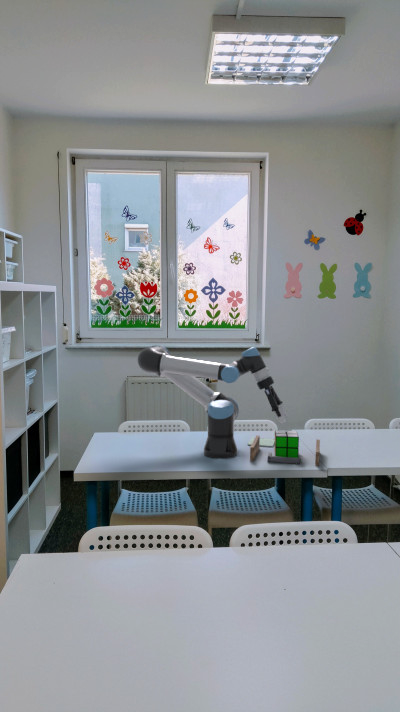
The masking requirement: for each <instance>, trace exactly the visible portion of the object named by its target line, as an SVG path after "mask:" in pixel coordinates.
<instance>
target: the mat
mask: <svg viewBox="0 0 400 712" xmlns="http://www.w3.org/2000/svg"><path fill="white" fill-rule="evenodd" d="M254 439H255V437H251V438H250V439H249V441H248V443H247V446H249V447H251V445H252V443H253V441H254ZM274 445H275V438H260V443H259V447H263V448H264V447H265V448H274Z"/></svg>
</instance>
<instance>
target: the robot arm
mask: <svg viewBox="0 0 400 712" xmlns="http://www.w3.org/2000/svg"><path fill="white" fill-rule="evenodd" d="M137 364H138V367H139V368H140V369H141V370H142V371H144V372H145V373H153V374H156V375H157V376H159V377H160V378H164V377H165V378H166V379H167V380H169V381H171V382H172V383H173V384H174V385H175V386H177V387H178V388H179V389H181V390H182V391H183V392H184V393H186V394H187V395H188V396H190V397H191V398H193V400H195V401H196V402H198V403H199V404H200V405H202V407H204V411H205V412H206V413H207V437H206V441H205V444H204V447H203V454H204V456H206V457H209V458H212V459H214V458H215V459H228V458H229V459H230V458H233V457H235V456H237V455H238V448H237V447H238V446H237V444H236V441H235V438H234V432H235V431H234V428H235V427H234V426H235V425H234V422H235V421H236V419H237V418H238V416H239V405H238V403H237V401H236V400H235V399H233V398H231V397H229V396H226V395H225V394H223V393H222V392H220V391H217V392H215V391H214V390H213V389H212V388H210V386H208V385H206V384H205V383H204V382H202V381H201V380H199V379H198V378H204V379H211V380H216V381H222V382H225V383H226V384H233V383H235V382H237V381H238V379H239V378H240V377H241V376H243V375H245V374H248V373H251V375H252V378H253V380H254V381H255V382H256V385H257V387H258V389H259V390H260V391H261V390H263V389H264V394H265V395H266V398H267V401H268V402H269V404H270V407H271V412H272V413H274V414H275V417H276V418H277V421H278V422H279V424H280V425H282V424H284V423H286V421H287V420H286V418H288V417H289V415H288V414H287V412H286V410H285V407H284V406H283V401H282V400H281V399H280V398H279V395H278V394H277V392H276V391H275V389H274V387H273V384H274V383H275V381H274V379H273V376H271V374H270V372H269V371H270V368H268V367H267V366H266V363H265V361H264V359H263V357H262V356H261V354H260V352H259V350H258V348H257V347H255V346H252V347H250V348H248V349H246V350H244V351H243V352H241V357H240V358H238V359H236V360H234V361H231V362H230V363H227V364H226V363H219V362H215V361H214V362H213V361H205V360H201V359H200V360H197V359H193V358H184V357H180V356H179V357H177V356H173V355H172V354H171V353H170V351H169V350H168V349H167V348H166V347H165V346H163V345H152V346H150V347H146V348H144V349H142V350H141V351H140V352H139V353H138V356H137Z"/></svg>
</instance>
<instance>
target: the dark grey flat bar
mask: <svg viewBox="0 0 400 712" xmlns="http://www.w3.org/2000/svg"><path fill="white" fill-rule="evenodd" d="M266 461H267V463H275V464H287V465H296V466H297V465H298V466H301V465H302V455H301V454H298V458H292V457H279V456H275V455H272V452H268V455H267V460H266Z"/></svg>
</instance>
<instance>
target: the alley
mask: <svg viewBox="0 0 400 712" xmlns="http://www.w3.org/2000/svg"><path fill="white" fill-rule="evenodd" d="M254 438H255V439H254V441H253V443H252V445H251V446H249V449H250V450H249V453H250V454H249V461H250V462H254V461H255V458H256V456H257V454H258V452H259V450H260V446H259V443H260V435H255V437H254ZM320 444H321V439H318V438H317V439H316V443H315V465H314V466H315V467H319V466H320V447H321V445H320Z"/></svg>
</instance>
